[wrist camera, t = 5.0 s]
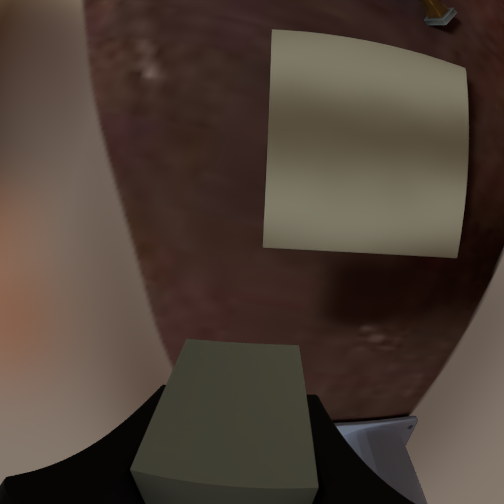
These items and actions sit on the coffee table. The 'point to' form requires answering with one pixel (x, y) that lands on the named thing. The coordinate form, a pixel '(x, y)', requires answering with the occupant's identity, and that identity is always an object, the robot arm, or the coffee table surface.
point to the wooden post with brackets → (437, 12)
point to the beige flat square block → (364, 148)
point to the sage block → (230, 429)
